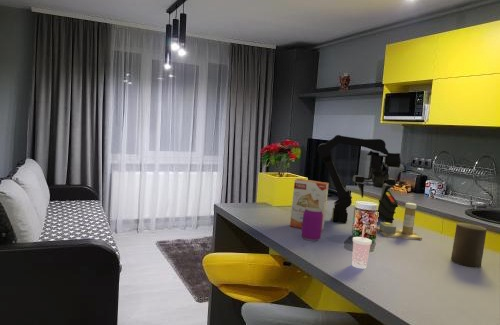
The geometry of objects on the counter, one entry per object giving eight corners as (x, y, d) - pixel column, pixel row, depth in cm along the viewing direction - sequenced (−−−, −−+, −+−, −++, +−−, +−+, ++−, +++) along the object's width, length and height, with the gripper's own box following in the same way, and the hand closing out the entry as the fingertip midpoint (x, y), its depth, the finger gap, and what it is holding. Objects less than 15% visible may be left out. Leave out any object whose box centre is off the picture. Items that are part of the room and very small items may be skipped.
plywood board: (384, 236, 171) (384, 234, 171) (376, 229, 183) (376, 227, 183) (421, 240, 170) (422, 237, 170) (411, 232, 182) (411, 230, 182)
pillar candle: (470, 268, 138) (476, 226, 136) (445, 259, 146) (451, 219, 145) (487, 266, 142) (493, 225, 141) (461, 257, 151) (467, 218, 149)
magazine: (379, 213, 212) (389, 190, 205) (390, 229, 201) (400, 206, 193) (373, 212, 211) (382, 189, 204) (383, 229, 200) (393, 205, 193)
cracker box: (289, 226, 174) (294, 179, 172) (293, 223, 180) (297, 178, 177) (321, 232, 169) (326, 183, 167) (324, 229, 174) (329, 182, 172)
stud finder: (383, 232, 173) (384, 225, 173) (379, 228, 180) (380, 221, 180) (395, 233, 173) (396, 226, 173) (390, 229, 180) (391, 222, 180)
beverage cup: (365, 271, 127) (370, 228, 125) (347, 266, 130) (351, 224, 129) (371, 266, 132) (375, 224, 131) (352, 261, 135) (357, 221, 134)
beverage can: (298, 238, 157) (301, 208, 155) (304, 234, 163) (307, 205, 162) (316, 242, 153) (320, 212, 152) (323, 238, 160) (326, 209, 159)
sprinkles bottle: (404, 231, 179) (408, 201, 178) (414, 233, 176) (418, 204, 175) (400, 232, 176) (403, 202, 175) (410, 235, 173) (414, 204, 172)
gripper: (359, 165, 178) (355, 200, 180) (401, 169, 178) (397, 203, 179) (354, 163, 189) (350, 195, 191) (393, 166, 189) (390, 199, 190)
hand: (372, 198), depth 188 cm, fingers open, 9 cm apart
